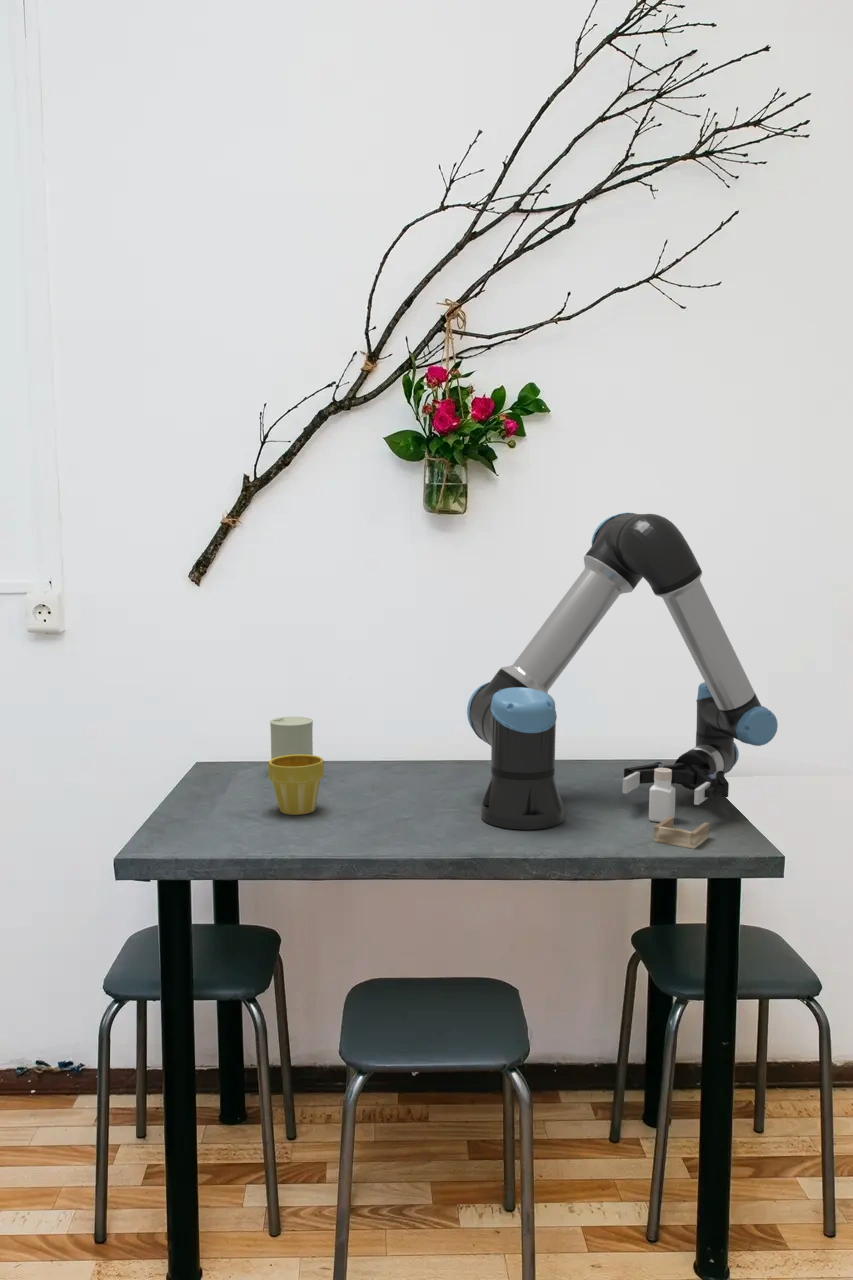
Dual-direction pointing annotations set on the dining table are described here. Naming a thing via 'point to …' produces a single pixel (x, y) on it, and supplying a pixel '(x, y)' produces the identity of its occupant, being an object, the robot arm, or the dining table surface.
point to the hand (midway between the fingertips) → (659, 791)
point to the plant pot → (296, 782)
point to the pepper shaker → (662, 796)
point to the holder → (680, 834)
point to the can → (291, 736)
